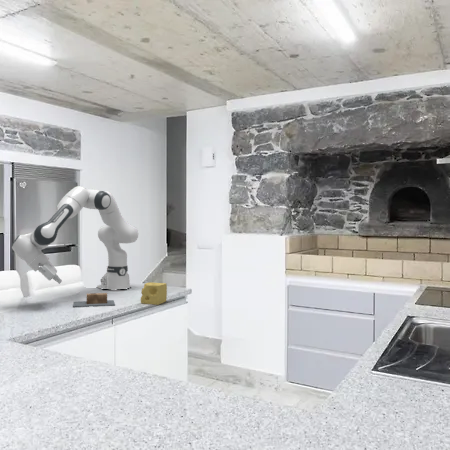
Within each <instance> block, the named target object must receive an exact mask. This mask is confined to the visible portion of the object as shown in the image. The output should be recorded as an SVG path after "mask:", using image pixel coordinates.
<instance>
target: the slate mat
mask: <svg viewBox="0 0 450 450" xmlns="http://www.w3.org/2000/svg"><path fill="white" fill-rule="evenodd" d="M72 303H73V304H72V308H88V307H89V306H93V307H109V306H111V307H113V306H116V304H115V300H114V299H107V303H102V304H87V300H81V301H80V300H79V301H76V300H75V301H73V302H72ZM89 308H90V307H89Z"/></svg>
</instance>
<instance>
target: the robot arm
mask: <svg viewBox="0 0 450 450" xmlns="http://www.w3.org/2000/svg"><path fill="white" fill-rule="evenodd" d="M83 208H85V209H89V210H97V211H98V212H99V215H100V217H101V220H102V222H103V224H105V225H102V226H101V227H99V229H98V231H97V237H98V239H99V241H101V242H102V244H103V245H104V246H105V248H106V251H107V257H108V258H107V259H108V260H107V261H108V263H107V264H108V265H107V267H106V272H105V274H104V275H102V277H101V279H100V284H98V285H97V286H96V287H97V288H98V289H100V288H103V289H111V290H110V291H116V290H115V289H126V288H129V287H130V286H131V283H130V280H131V279H130V274H129V273H128V272H129V267H128V253H127V252H126V250H124V249H123V248H122V246H121V245H120V244H131V243H135V242H136V241H137V240H138V238H139V232H138V231H139V230H138V228H137V227H135V226H133V225H132V224H130V223H129V222H128V221H126V219H125V218H124V217H123V215H122V213H121V211H120V209H119V206H118V204H117V202H116V199H115V198H114V196H113V194H112V193H111V192H110V191H108V190H99V189H95V188H94V189H93V188H85V187H83V186H82V185H81V186H80V185H78V186H74V187H73V188H72V189H70V190H69V191H68V192H66V194H65V195H64V196H63V197H62V198H61V199H60V201H59V202H58V204H57V206H56V211H55V213H54V214H53V215H52V216H51V217H50V219H48V221H46V222H43V223H41V224H39V225H37V226H36V228H35V230H34V231H31V232H29V233H26V234H19V235H18V236H16V238H15V239H14V240H13V242H12V243H11V249H12V250H13V252H14V253H15V255H17V256H18V257H19V258H20V259H21V260H23V261H25V262H26V264H27V266H29V267H30V269H32V270H33V271H34V272H37V271H38V272H39V273H41V274H42V275H43V276H44V277H45V278H46V279H47V280H48V281H52V280H53V281H55V282H57V283H58V284H61V283H62V282H63V281H62V279H61V278H60V277H59V275H58V274H57V273H58V270H57V269H56V267H55V266H54V265H53V264H52V263H51V262H50V261H49V260H50V258H49V257H48V256H47V255H46V254H45V253H44V252H43V251H42V250H45V249H46V248H48V247H49V246H50V245H51V244H52V243H54V241H55V240H56V238H57V236H58V233H59V230H60V228H61V227H62V226H63V225H64V224H65V222H67V220H71V219H73V218H74V217H76V216H77V214H79V213H80V212H81V211H82V209H83ZM112 289H113V290H112ZM129 289H130V288H129Z"/></svg>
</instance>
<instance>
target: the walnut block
mask: <svg viewBox="0 0 450 450" xmlns="http://www.w3.org/2000/svg"><path fill="white" fill-rule="evenodd" d="M107 300H108V293H107V292H97V293H96V292H95V293H93V292H92V293H91V292H90V293H86V301H87V304H102V303H107Z"/></svg>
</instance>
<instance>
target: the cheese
mask: <svg viewBox="0 0 450 450" xmlns="http://www.w3.org/2000/svg"><path fill="white" fill-rule="evenodd" d="M167 285H168V284H167V283H166V282H151V281H150V282H146V283H144V285H143V286H144V287H143V288H142V289H141V293H140V294H141V297H140V304H142V305H143V304H144V305H154V306H155V305H156V306H159V305H162V304H164V303H166V302H167V300H168V299H167V296H168V287H167Z"/></svg>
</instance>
